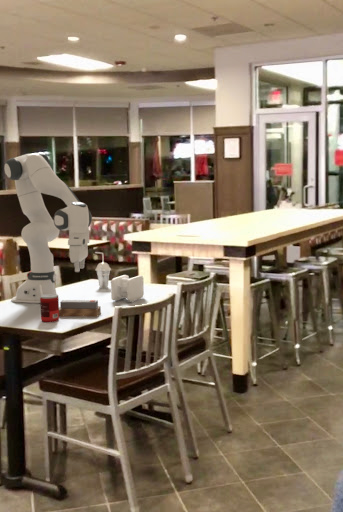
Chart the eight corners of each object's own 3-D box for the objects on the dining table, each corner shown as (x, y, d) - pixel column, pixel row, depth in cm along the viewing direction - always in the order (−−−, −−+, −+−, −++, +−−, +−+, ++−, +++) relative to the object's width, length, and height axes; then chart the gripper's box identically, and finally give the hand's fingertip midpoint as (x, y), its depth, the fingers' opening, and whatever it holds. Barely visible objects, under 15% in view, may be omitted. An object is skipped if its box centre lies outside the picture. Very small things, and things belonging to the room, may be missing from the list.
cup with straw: (112, 288, 368) (111, 251, 365) (95, 289, 366) (94, 252, 363) (110, 285, 376) (109, 249, 373) (93, 286, 374) (92, 250, 371)
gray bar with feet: (60, 314, 304) (60, 301, 303) (62, 312, 308) (62, 299, 307) (96, 314, 303) (96, 301, 302) (98, 312, 307) (97, 299, 306)
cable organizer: (129, 303, 328) (128, 279, 326) (110, 302, 332) (109, 278, 331) (144, 298, 341) (143, 275, 340) (125, 296, 346) (125, 273, 344)
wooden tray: (56, 316, 302) (56, 309, 302) (61, 312, 310) (61, 305, 310) (97, 316, 301) (97, 309, 300) (100, 312, 309) (100, 306, 308)
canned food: (60, 318, 298) (59, 293, 297) (57, 322, 291) (57, 297, 289) (42, 318, 298) (41, 293, 297) (39, 322, 290) (38, 297, 289)
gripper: (77, 236, 314) (77, 266, 316) (66, 241, 293) (67, 273, 295) (91, 236, 313) (91, 266, 315) (81, 242, 293) (81, 273, 295)
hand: (79, 270), depth 305 cm, fingers open, 8 cm apart
